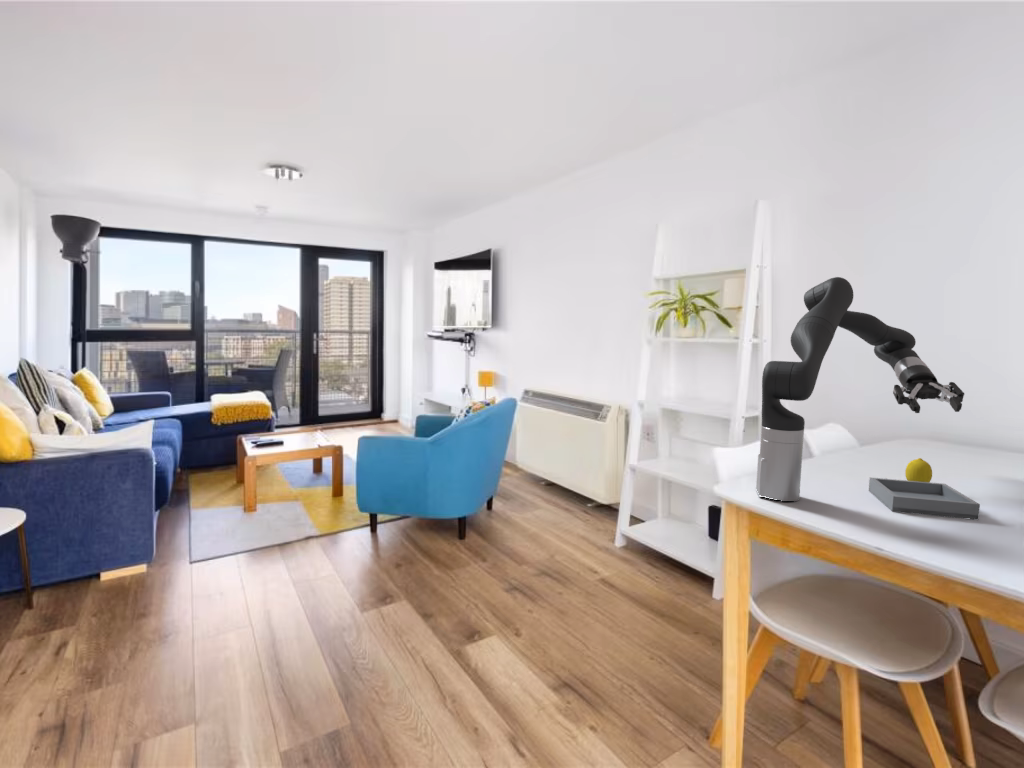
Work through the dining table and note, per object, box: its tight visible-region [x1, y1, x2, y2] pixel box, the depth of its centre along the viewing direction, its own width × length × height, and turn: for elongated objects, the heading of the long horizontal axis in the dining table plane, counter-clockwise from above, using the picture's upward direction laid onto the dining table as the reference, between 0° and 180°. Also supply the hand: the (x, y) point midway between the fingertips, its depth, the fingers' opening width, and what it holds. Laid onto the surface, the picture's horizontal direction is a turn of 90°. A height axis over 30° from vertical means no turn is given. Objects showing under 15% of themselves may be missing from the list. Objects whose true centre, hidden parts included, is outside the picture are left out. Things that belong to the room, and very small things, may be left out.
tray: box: [868, 477, 981, 520], centre depth 124 cm, size 16×16×4 cm
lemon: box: [904, 457, 933, 483], centre depth 136 cm, size 6×6×8 cm
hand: (938, 409), depth 134 cm, fingers open, 8 cm apart
